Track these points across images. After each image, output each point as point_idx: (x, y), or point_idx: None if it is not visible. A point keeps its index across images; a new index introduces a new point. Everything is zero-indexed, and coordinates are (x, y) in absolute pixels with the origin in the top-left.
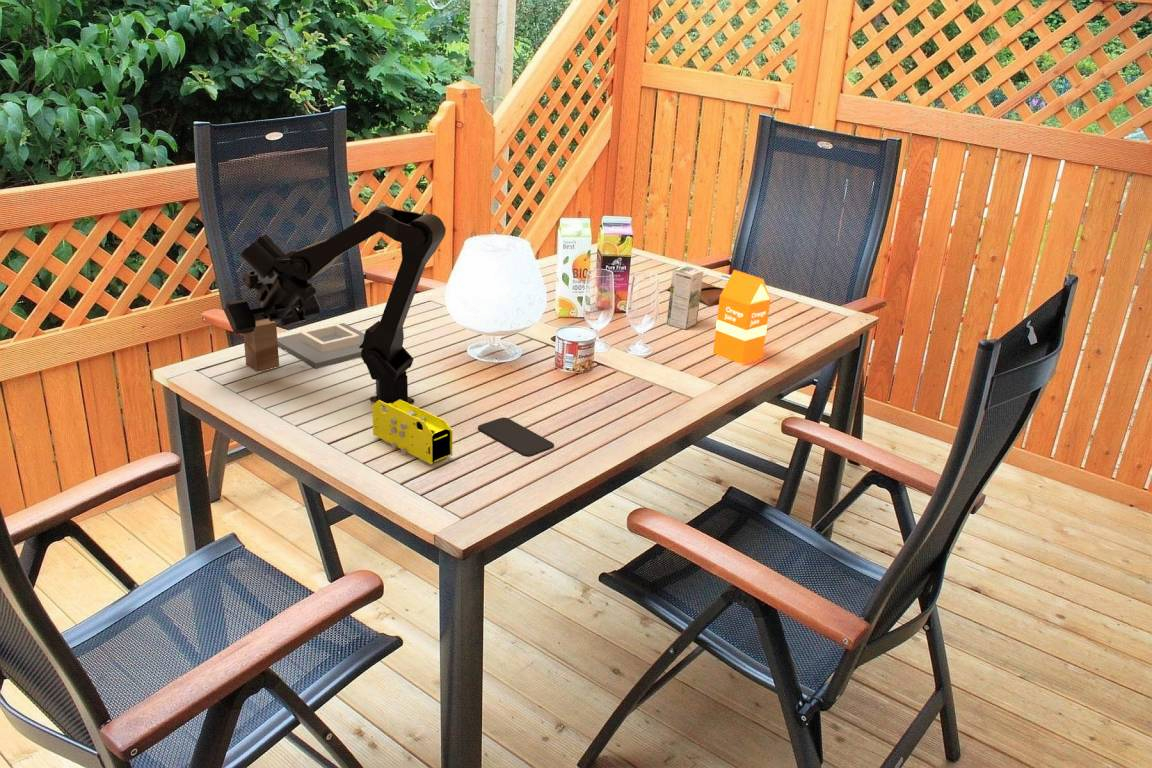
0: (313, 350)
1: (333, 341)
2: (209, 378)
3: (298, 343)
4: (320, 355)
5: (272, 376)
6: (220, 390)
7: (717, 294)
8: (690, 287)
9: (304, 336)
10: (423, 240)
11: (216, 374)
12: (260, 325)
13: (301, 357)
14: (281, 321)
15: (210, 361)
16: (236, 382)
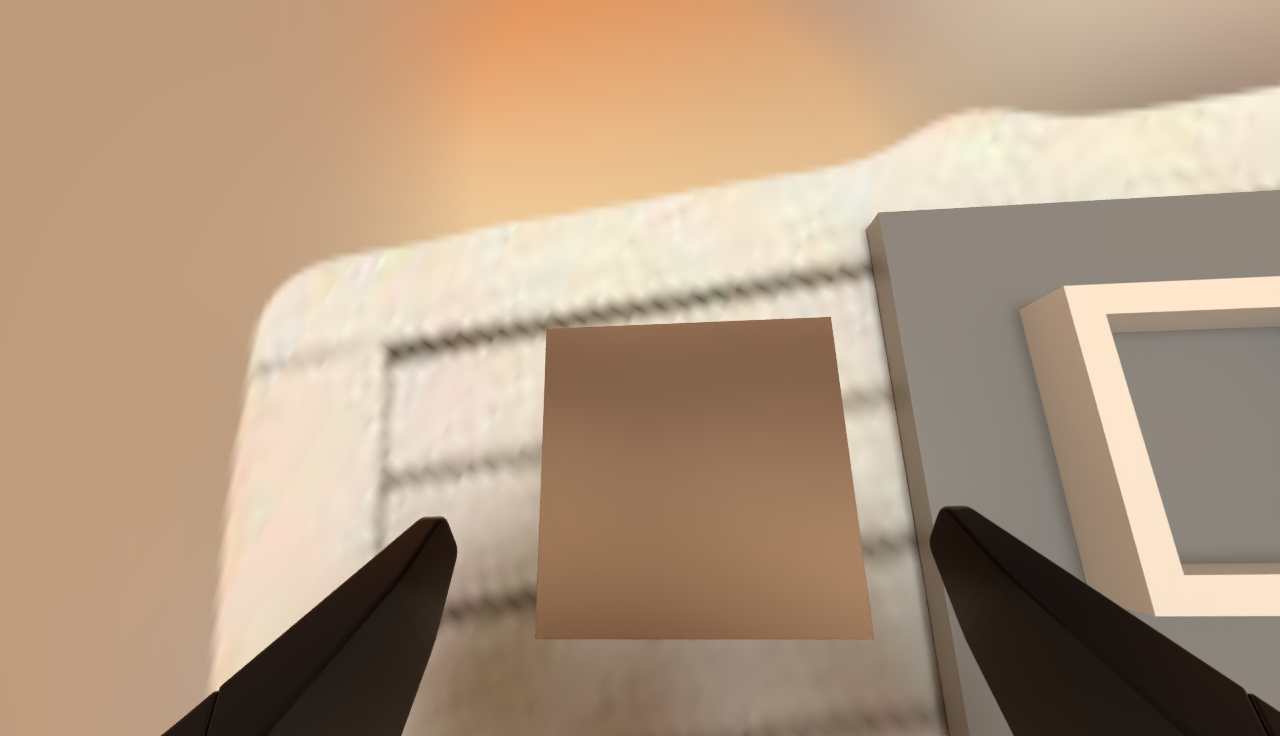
0: (1042, 517)
1: (1270, 610)
2: (378, 484)
3: (989, 350)
4: None
5: (654, 681)
6: None
7: None
8: None
9: (1067, 348)
10: None
11: (432, 454)
12: (637, 629)
13: (926, 543)
14: (967, 556)
15: (497, 279)
16: (450, 632)
